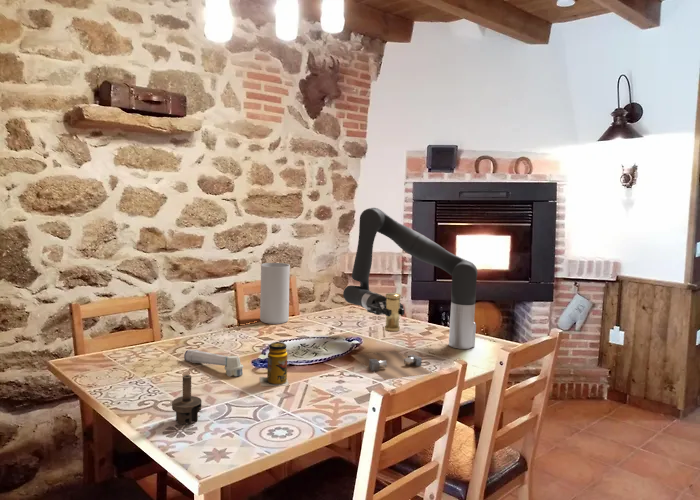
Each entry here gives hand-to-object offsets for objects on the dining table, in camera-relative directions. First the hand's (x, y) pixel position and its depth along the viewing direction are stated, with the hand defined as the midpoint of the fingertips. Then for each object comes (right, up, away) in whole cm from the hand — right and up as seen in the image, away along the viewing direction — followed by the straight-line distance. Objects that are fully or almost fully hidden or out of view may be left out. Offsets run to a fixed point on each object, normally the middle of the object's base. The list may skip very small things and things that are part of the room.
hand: (396, 312), depth 199 cm
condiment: (-40, -19, -25) cm, 51 cm away
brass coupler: (-1, -7, +3) cm, 7 cm away
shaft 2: (+5, -17, -6) cm, 19 cm away
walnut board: (-3, -17, -6) cm, 19 cm away
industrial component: (-58, -22, -56) cm, 83 cm away
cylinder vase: (-50, -9, +49) cm, 71 cm away
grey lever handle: (-61, -17, -15) cm, 65 cm away
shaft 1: (-7, -17, -12) cm, 22 cm away
